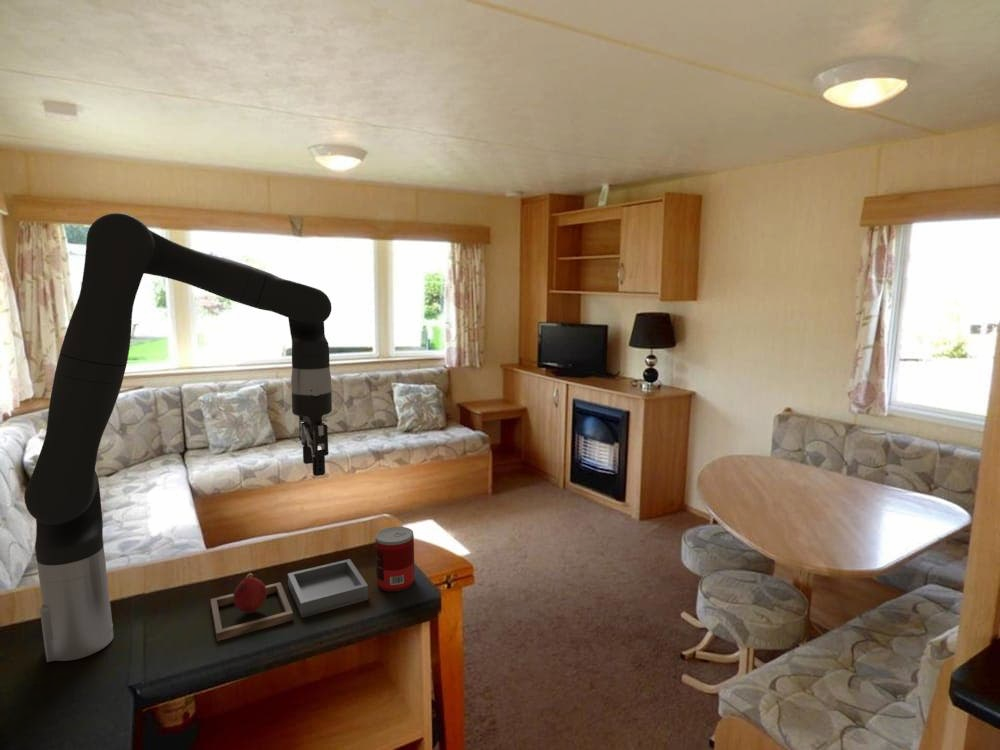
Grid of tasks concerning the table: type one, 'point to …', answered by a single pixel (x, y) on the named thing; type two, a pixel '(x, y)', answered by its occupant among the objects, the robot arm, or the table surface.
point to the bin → (327, 587)
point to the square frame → (250, 625)
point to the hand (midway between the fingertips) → (313, 468)
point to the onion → (250, 594)
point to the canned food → (394, 558)
